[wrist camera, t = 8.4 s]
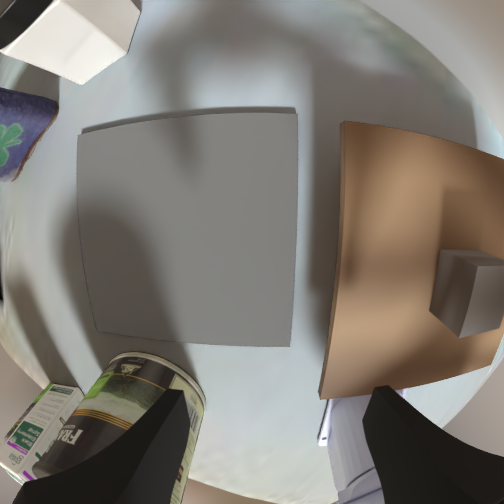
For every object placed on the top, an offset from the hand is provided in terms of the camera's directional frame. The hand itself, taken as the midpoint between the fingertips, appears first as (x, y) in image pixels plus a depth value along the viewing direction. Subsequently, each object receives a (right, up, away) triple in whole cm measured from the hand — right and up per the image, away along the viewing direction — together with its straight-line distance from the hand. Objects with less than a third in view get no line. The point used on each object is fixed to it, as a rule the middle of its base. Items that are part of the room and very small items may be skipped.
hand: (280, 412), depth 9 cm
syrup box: (-22, -12, +15) cm, 29 cm away
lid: (+11, +4, +4) cm, 12 cm away
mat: (-6, +7, +9) cm, 13 cm away
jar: (-14, +24, +6) cm, 28 cm away
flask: (-21, +16, +8) cm, 28 cm away
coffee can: (-10, -7, +13) cm, 18 cm away
